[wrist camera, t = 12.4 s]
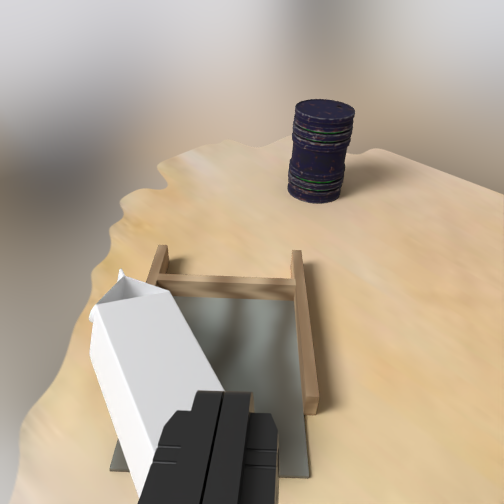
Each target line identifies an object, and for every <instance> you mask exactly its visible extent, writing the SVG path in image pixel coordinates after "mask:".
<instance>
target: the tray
mask: <svg viewBox="0 0 504 504" xmlns="http://www.w3.org/2000/svg"><path fill="white" fill-rule="evenodd" d="M168 265H169V256H168V246H167V245H158V248H157V251H156V254H155V257H154V260H153V263H152V266H151V269H150V272H149V275H148V278H147V281H146V283H148V284H151V285H153V286H156V287H159V288H162V289H165V290H168V291H170V293H171V295H172V296H173V298H174V300H175V302H176V304H177V305H178V307H179V309H180V311H181V313H182V315H183V316H184V318H185V320H186V322H187V324H188V325H189V327H190V329H191V331H192V333H193V334H194V336H195V338H196V340H197V342H198V343H199V345H200V347H201V349H202V351H203V353H204V354H205V356H206V358H207V360H208V362H209V363H210V365H211V367H212V369H213V371H214V372H215V374H216V376H217V378H218V380H219V381H220V383H221V385H222V387H223V389H224V391H247V392H253V398H254V411H255V413H271V415H272V417H273V420H274V422H275V424H276V427H277V429H278V443H279V465H280V471H279V477H284V478H309V470H308V458H307V447H306V435H305V424H304V415H316V410H317V406H318V401H319V389H318V381H317V373H316V365H315V357H314V349H313V341H312V333H311V325H310V317H309V309H308V300H307V292H306V284H305V276H304V268H303V260H302V252H301V250H292V258H291V279H283V278H258V277H233V276H207V275H182V274H166V272H167V268H168ZM110 471H120V472H130V470H129V468H128V465H127V462H126V459H125V456H124V453H123V450H122V447H121V445H120V442H119V439H118V441H117V444H116V448H115V451H114V455H113V458H112V462H111V465H110Z"/></svg>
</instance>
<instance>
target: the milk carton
mask: <svg viewBox="0 0 504 504" xmlns="http://www.w3.org/2000/svg"><path fill="white" fill-rule="evenodd" d="M89 321H90V322H92V323H93V328H92V336H91V345H90V358H91V361H92V364H93V367H94V370H95V373H96V376H97V379H98V382H99V384H100V387H101V390H102V393H103V396H104V399H105V402H106V404H107V407H108V410H109V413H110V416H111V419H112V422H113V425H114V427H115V430H116V433H117V436H118V439H119V442H120V445H121V447H122V450H123V453H124V456H125V459H126V462H127V465H128V468H129V470H130V473H131V476H132V479H133V482H134V485H135V488H136V491H137V493H138V496H139V499H140V496H141V493H142V490H143V487H144V484H145V481H146V478H147V475H148V472H149V469H150V466H151V464H152V462H153V457H154V454H155V451H156V448H157V447H158V442H159V439H160V436H161V433H162V430H163V427H164V425H165V424H166V423H167V422H168V420H169V419H170V418H171V417H172V415H173V414H174V413H175V412H176V411H177V410H187V411H191V408H192V405H193V401H194V397H195V394H196V392H197V391H198V390H207V391H224V389H223V387H222V385H221V383H220V381H219V380H218V378H217V376H216V374H215V372H214V371H213V369H212V367H211V365H210V363H209V362H208V360H207V358H206V356H205V354H204V353H203V351H202V349H201V347H200V345H199V343H198V342H197V340H196V338H195V336H194V334H193V333H192V331H191V329H190V327H189V325H188V324H187V322H186V320H185V318H184V316H183V315H182V313H181V311H180V309H179V307H178V305H177V304H176V302H175V300H174V298H173V296H172V295H171V293H170V291H168V290H165V289H162V288H159V287H156V286H153V285H151V284H148V283H145V282H142V281H139V280H136V279H133V278H130V277H127V276H125V275H124V272H123V270H122V269H119V275H118V281H117V283H116V284H115V285H114V286H113V287H112V288H111V289H110V290H109V291H108V292H107V293H106V294H105V295H104V296H103V297H102V298H101V299H100V300H99V302H98V303H97V304H96V305H95V306H94V307H93V309H92V310H91V312H90V315H89Z"/></svg>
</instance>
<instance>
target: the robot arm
mask: <svg viewBox="0 0 504 504" xmlns="http://www.w3.org/2000/svg"><path fill="white" fill-rule="evenodd" d="M279 471H280V465H279V443H278V429H277V427H276V424H275V422H274V420H273V417H272V415H271V413H255V411H254V398H253V392H247V391H207V390H198V391H197V392H196V394H195V397H194V401H193V405H192V408H191V411H187V410H177V411H176V412H175V413H174V414H173V415H172V417H171V418H170V419H169V420H168V422H167V423H166V424H165V425H164V427H163V430H162V433H161V436H160V439H159V442H158V447H157V448H156V451H155V454H154V457H153V462H152V464H151V466H150V469H149V472H148V475H147V478H146V481H145V484H144V487H143V490H142V493H141V496H140V499H139V501H138V504H278V496H279Z"/></svg>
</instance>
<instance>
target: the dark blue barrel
mask: <svg viewBox="0 0 504 504" xmlns="http://www.w3.org/2000/svg"><path fill="white" fill-rule="evenodd" d="M354 115H355V110H354V108H353V107H351V106H350V105H348V104H345V103H342V102H338V101H334V100H326V99H325V100H324V99H311V100H305V101H301V102H299V103H297V104H296V106H295V116H294V122H293V133H292V140H293V150H292V158H291V159H290V164H289V171H288V177H289V178H288V182H289V183H288V192H289V193H290V194H291V195H292V196H293V197H294V198H296V199H298V200H301V201H304V202H308V203H328V202H332V201H334V200H336V199H337V198H338V197H339V195H340V188H341V186H342V183H343V179H344V171H345V164H344V162H345V156H346V150H347V147H348V146H349V143H350V140H351V139H350V137H351V134H352V129H353V118H354Z"/></svg>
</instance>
